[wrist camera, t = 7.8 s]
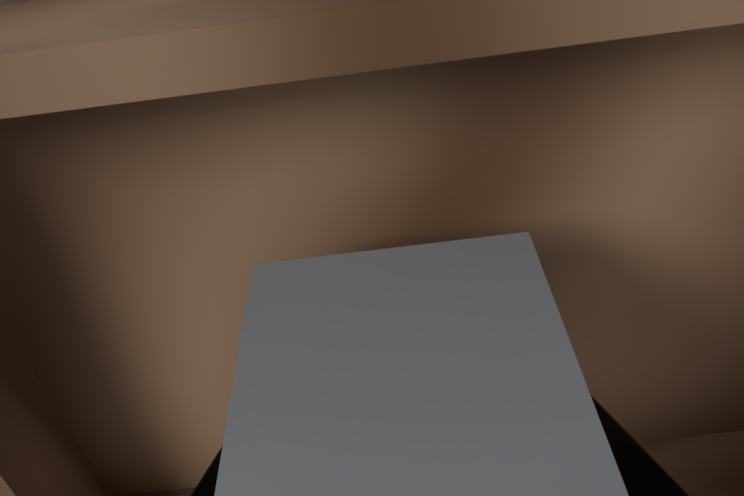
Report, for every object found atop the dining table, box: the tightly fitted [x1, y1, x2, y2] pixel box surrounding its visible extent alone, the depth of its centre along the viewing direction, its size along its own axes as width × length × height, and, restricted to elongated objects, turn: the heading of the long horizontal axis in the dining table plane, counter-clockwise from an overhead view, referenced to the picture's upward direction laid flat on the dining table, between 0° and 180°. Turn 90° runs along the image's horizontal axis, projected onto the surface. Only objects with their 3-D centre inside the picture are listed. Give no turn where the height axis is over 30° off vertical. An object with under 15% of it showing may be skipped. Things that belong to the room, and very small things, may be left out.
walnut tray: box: [0, 0, 744, 496], centre depth 11 cm, size 17×11×2 cm, turn 97°
